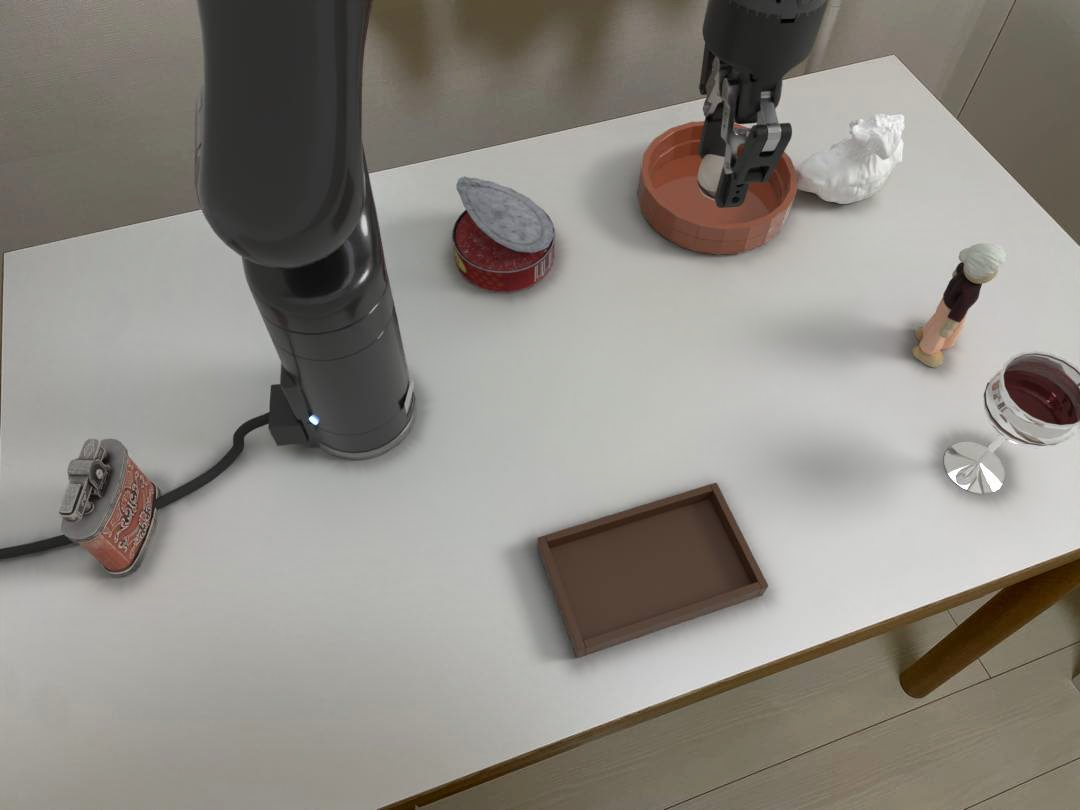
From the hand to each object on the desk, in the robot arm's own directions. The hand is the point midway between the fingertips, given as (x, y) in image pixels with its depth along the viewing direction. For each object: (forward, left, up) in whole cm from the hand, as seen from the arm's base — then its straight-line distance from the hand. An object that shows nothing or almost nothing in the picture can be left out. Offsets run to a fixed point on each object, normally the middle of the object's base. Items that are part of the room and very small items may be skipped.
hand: (719, 178), depth 68 cm
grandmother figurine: (+21, -7, -15) cm, 27 cm away
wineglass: (+20, -20, -15) cm, 32 cm away
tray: (-9, -26, -15) cm, 32 cm away
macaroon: (0, 0, -1) cm, 1 cm away
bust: (+19, +13, -15) cm, 27 cm away
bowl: (+5, +13, -15) cm, 20 cm away
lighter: (-49, -18, -15) cm, 55 cm away
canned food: (-17, +8, -15) cm, 24 cm away
